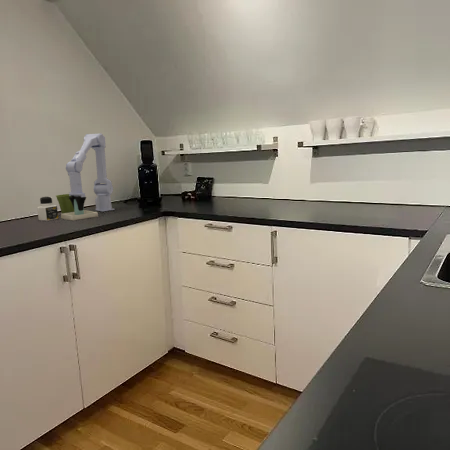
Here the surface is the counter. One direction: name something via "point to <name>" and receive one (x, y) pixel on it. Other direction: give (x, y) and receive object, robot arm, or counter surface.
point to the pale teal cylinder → (77, 209)
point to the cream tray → (74, 217)
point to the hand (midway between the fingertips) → (78, 210)
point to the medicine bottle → (47, 209)
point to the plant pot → (65, 203)
